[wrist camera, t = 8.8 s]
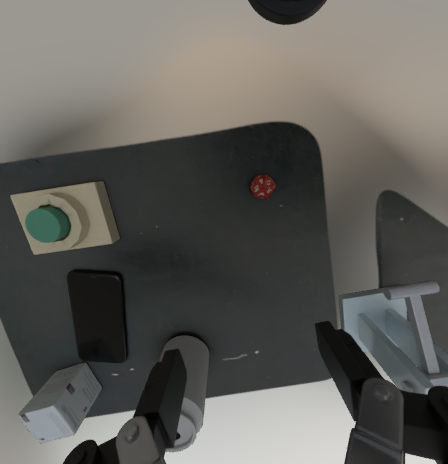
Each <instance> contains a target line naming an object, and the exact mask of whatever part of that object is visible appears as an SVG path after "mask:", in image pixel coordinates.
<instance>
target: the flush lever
mask: <svg viewBox="0 0 448 464" xmlns="http://www.w3.org/2000/svg"><path fill="white" fill-rule="evenodd" d="M439 290H440V288H439V286H438V284H437V283H436V282H435V281H425V282H419V283H413V284H407V285H401V286H395V287H390V288H385V289H384V290H383V293H384V296H385V297H386V299H387V300H396V299H402V298H404V299H405V302H406V306H407V310H408V314H409V318H410V322H411V326H412V330H413V334H414V338H415V342H416V346H417V350H418V354H419V358H420V362H421V366H418V367H417V368H418V369H419V370H420V371H421V372H422V373H423V374H424V375H425V377H426V378H427V379H428V380H429V381H430V382H431V383H432V384H433V385H434V386H447V387H448V374H447V373H446V372H444V371H442V370H441V369H439V366H438V362H437V358H436V354H435V351H434V347H433V343H432V339H431V335H430V331H429V327H428V324H427V320H426V316H425V312H424V308H423V304H422V300H421V296H420V295H426V294H432V293H438V292H439Z"/></svg>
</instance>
